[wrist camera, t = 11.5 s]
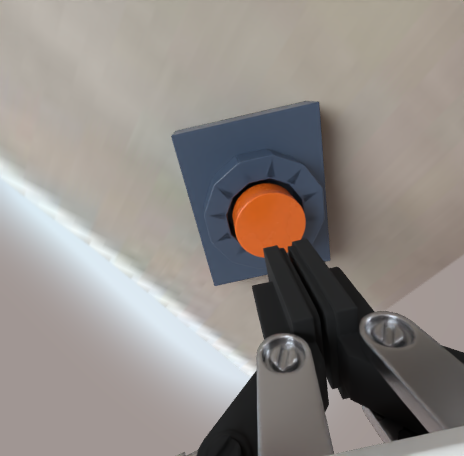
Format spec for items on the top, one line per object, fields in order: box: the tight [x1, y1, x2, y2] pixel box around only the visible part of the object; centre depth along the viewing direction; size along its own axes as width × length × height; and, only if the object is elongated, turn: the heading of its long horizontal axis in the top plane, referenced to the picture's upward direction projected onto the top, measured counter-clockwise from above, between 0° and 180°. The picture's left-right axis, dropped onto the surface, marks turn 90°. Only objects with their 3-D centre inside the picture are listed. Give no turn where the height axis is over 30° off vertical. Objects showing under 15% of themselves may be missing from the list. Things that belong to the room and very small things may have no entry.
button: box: [232, 183, 306, 258], centre depth 15 cm, size 4×4×2 cm
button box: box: [171, 101, 330, 286], centre depth 17 cm, size 10×8×4 cm
